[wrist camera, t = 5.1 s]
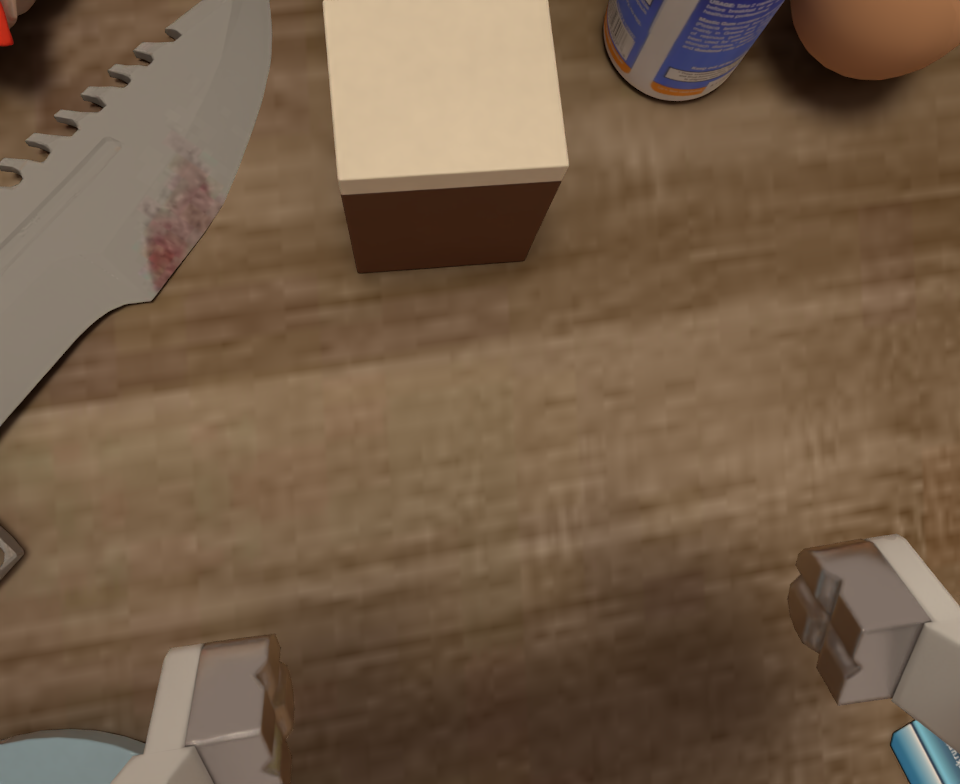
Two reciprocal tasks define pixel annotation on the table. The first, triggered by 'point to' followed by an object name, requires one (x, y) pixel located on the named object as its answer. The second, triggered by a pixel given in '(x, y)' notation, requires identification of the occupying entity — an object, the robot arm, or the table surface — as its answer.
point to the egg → (877, 34)
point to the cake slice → (444, 128)
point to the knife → (125, 189)
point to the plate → (65, 757)
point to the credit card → (925, 756)
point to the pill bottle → (682, 42)
